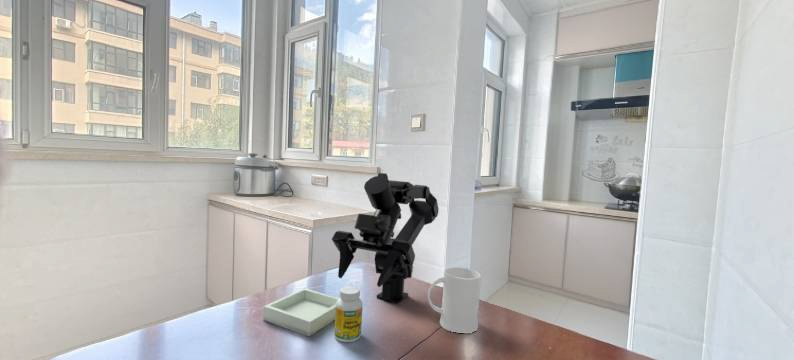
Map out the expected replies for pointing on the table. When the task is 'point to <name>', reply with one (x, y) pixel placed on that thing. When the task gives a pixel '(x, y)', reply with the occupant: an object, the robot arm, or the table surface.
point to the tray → (302, 311)
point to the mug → (459, 299)
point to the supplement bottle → (348, 315)
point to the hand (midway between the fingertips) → (358, 281)
